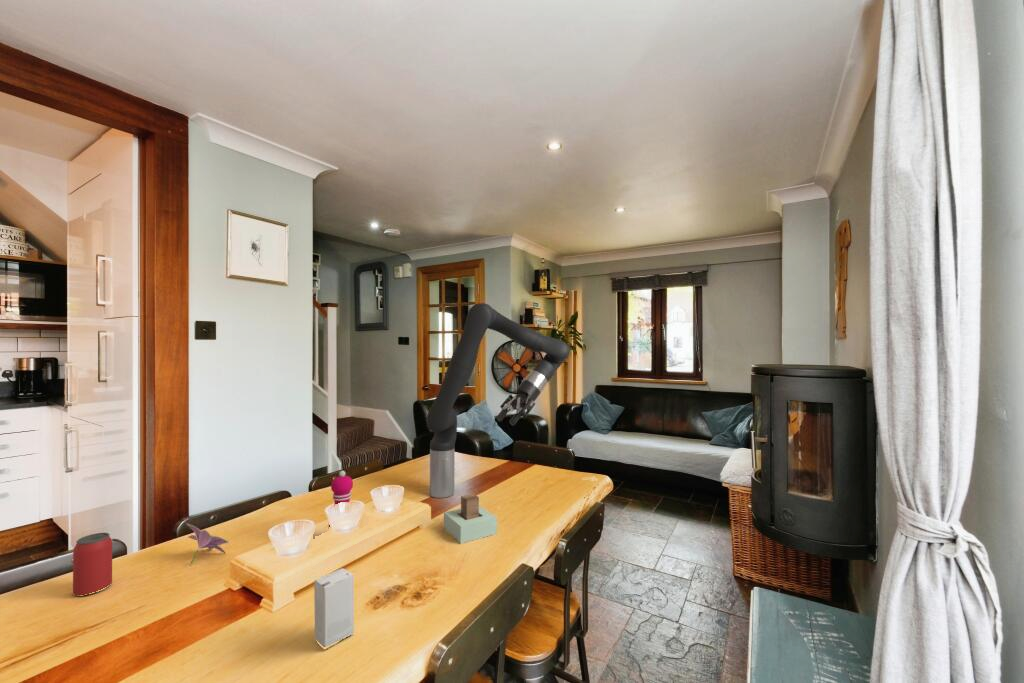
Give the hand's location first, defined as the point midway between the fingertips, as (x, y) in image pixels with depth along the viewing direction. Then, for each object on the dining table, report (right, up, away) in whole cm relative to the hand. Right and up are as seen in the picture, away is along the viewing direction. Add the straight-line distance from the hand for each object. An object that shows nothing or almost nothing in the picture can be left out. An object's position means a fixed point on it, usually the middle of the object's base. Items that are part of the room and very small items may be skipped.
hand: (504, 421), depth 146 cm
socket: (-10, -30, -15) cm, 35 cm away
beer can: (-95, -30, -46) cm, 110 cm away
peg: (-10, -30, -15) cm, 35 cm away
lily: (-79, -31, -31) cm, 90 cm away
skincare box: (-32, -30, -63) cm, 77 cm away
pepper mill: (-47, -31, -21) cm, 60 cm away
